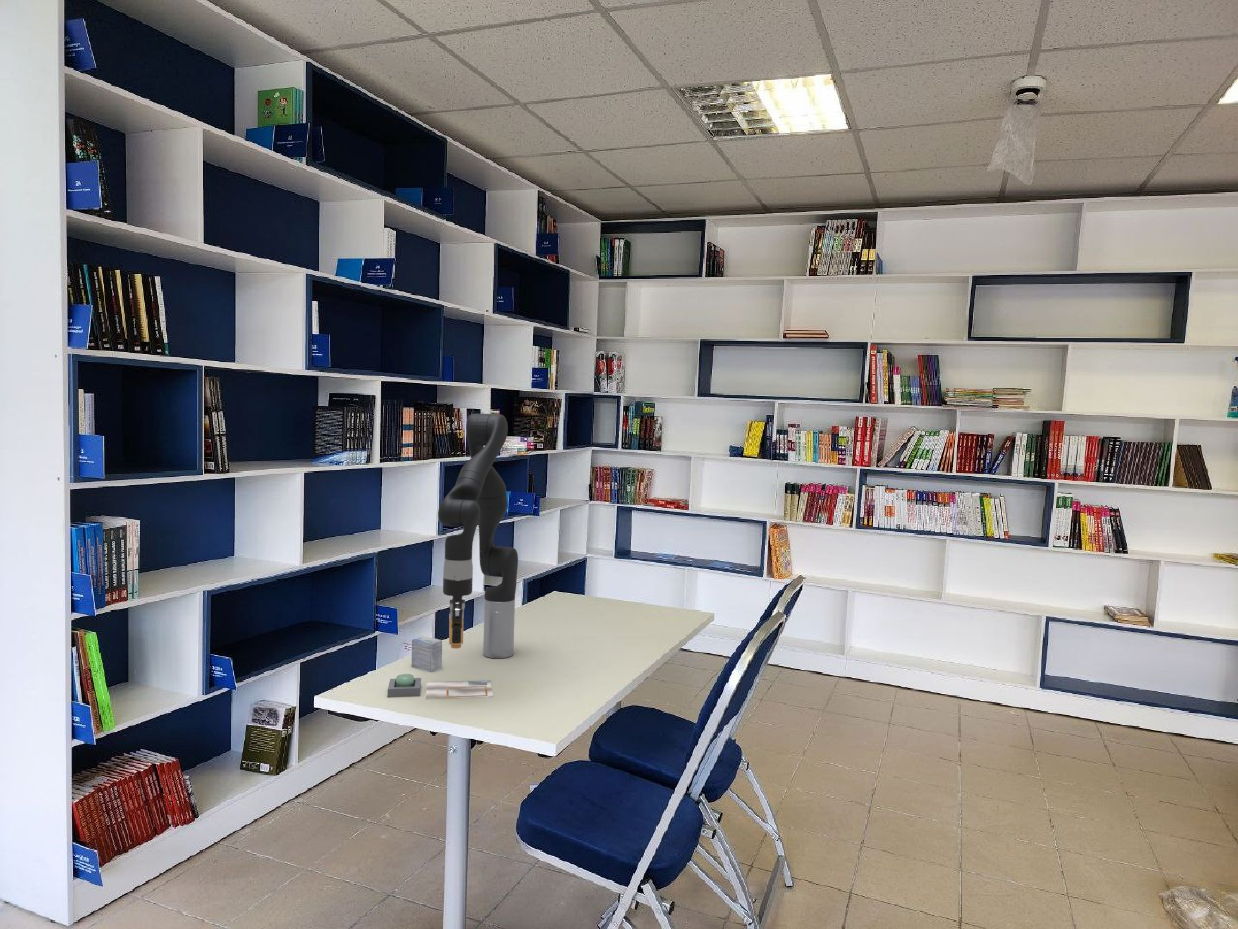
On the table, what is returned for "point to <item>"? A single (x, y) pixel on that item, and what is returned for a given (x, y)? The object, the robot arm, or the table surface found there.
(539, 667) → the table surface
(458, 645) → the orange pill bottle
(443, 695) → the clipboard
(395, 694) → the button housing
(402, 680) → the button
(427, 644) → the medicine box
